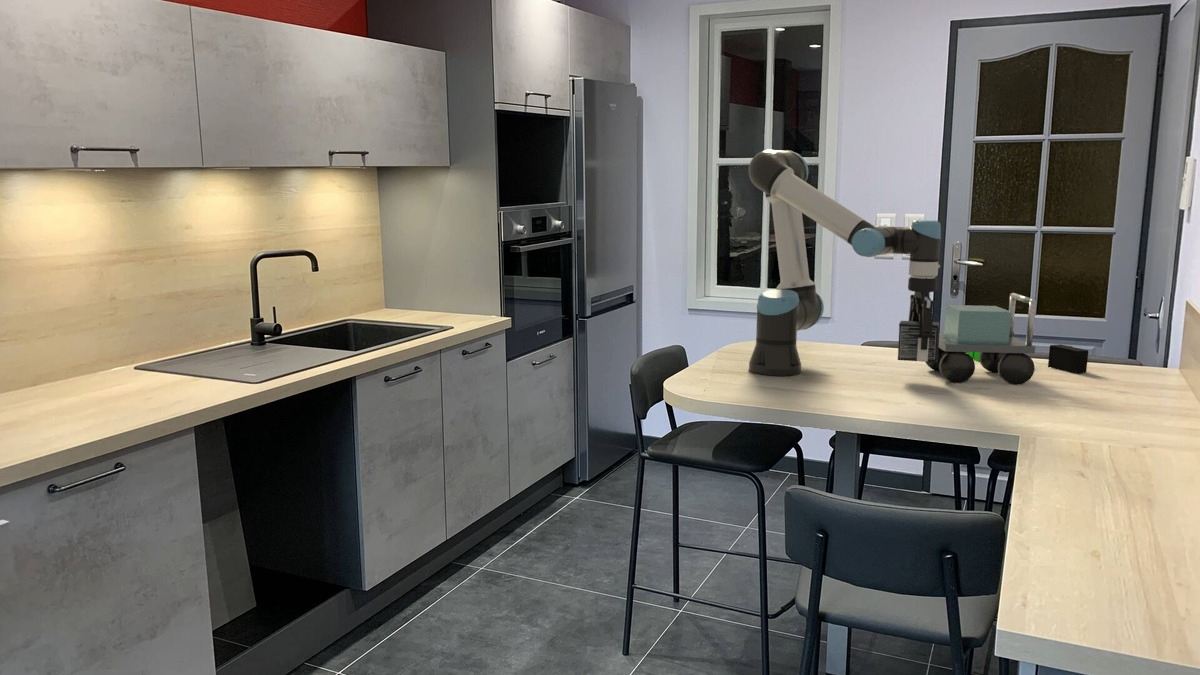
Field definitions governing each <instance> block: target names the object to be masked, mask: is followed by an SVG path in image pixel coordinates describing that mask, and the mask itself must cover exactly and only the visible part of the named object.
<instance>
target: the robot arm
mask: <svg viewBox="0 0 1200 675" xmlns="http://www.w3.org/2000/svg"><path fill="white" fill-rule="evenodd" d="M748 177H749V180H750V181H751V183H752V184H753V185H754V186H755V187H756V188H757V189H758V190H760V191H762V192H763V193H765V199H766V201H768V202H769V203H770V204H771V210H772V220H773V227H774V228H773V229H774V236H775V246H776V254H777V261H778V270H779V278H780V280H779V281H780V283H779V284H778V285H777V286H776V288H775V289H774V290H772V289H769V290H766V291H763V292H761V293H760V294H759V295H758V298H757V304H756V329H755V330H756V333H755V346H754V349H753V351H752V353H751V357H750V358H749V362H748V363H749V364H748V370H749V371H750V372H752V373H754V374H759V375H765V376H778V377H779V376H780V377H781V376H783V377H784V376H794V375H798V374H800V373H802V361H801V359H800V354H799V351H798V348H797V347H798V346H797V338H798V336H797V334H798V332H799V331H801V330H802V331H803V330H808V329H810V328H811V327H814V326H815V325H816V324H818V322H820V320H821V319H822V318H823V314H824V309H825V308H824V306H825V305H824V302H823V301H824V300H823V299H822V297H821V295H819V294H818V292H817V288H816V283H815V282H814V281H813V280H811V278H810V272H809V271H810V270H809V264H808V257H807V256H808V255H807V247H806V238H805V237H806V236H805V228H804V221H803V219H804V218H803V215H805V216H806V217H808V218H809V219H811V220H812V221H814V222H816V223H817V224H819V225H820V226H821V227H823V228H825V229H827V230H828V231H829V232H831V233H832V234H833V235H835V236H837V237H839V238H840V239H841V240H842V241H844V242H846V243H847V244H849V245H850V246H851V247H852V249H853V251H854V252H855V253H856V254H857V255H859V256H860V257H866V258H872V257H877V256H880V255H888V254H893V255H894V254H895V255H909V263H908V264H909V266H908V275H909V276H910V277H908V283H907V290H908V291H910V292H914V293H913V294H911V295H910V304H909V305H910V306H909V313H908V321H919V333H920V335H918V336H917V338H918V348H917V361H916V362H922V361H928V347H929V338H930V337H932V322H933V312H934V311H933V310H934V300H932V299H931V296H930V293H935V292H937V290H938V277H937V276H939V275H938V274H939V269H940V268H941V264H939V261H940V247H941V239H942V236H941V233H942V232H941V230H942V229H941V222H939V221H938V220H932V219H928V220H927V219H924V220H923V219H922V220H921V219H920V220H919V219H917V220H913V221H912V222H911V226H905V227H903V226H889V225H887V226H886V225H876V226H874V225H873V224H871V222H868V221H866V220H865V219H864V218H862V217H861V216H859V215H858V214H856V213H854V212H853V211H851V210H850V209H848V208H847V207H845V206H844V205H842V204H840V203H839V202H838V201H837V200H835V199H833V198H831V197H830V196H828V195H827V194H825V193H824V192H822V191H821V190H818V189H817V188H815V187H814V186H812V185H811V184H809V183H808V182H807V180H808V178H809V166H808V162H807V161H806V160H805V158H804V157H803V156H801V155H800V154H799V153H797V152H794V151H792V150H788V149H786V150H777V149H776V150H775V149H766V150H762V151H760V152H758V153H757V154H755V155H754V156H753V158H751V160H750V162H749V165H748Z"/></svg>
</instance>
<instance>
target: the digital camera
mask: <svg viewBox="0 0 1200 675" xmlns="http://www.w3.org/2000/svg"><path fill="white" fill-rule="evenodd" d="M1088 361H1089V350H1088V349H1083V348H1078V347H1074V346H1072V345H1065V344H1061V343H1060V344H1050V345H1049V353H1048V363H1047V367H1048V368H1050V367H1051V369H1054V370H1058V371H1062V372H1065V373H1070V374H1074V375H1080V374H1087V369H1088Z"/></svg>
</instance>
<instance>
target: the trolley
mask: <svg viewBox="0 0 1200 675" xmlns="http://www.w3.org/2000/svg"><path fill="white" fill-rule="evenodd" d="M1017 301H1020V302H1022V303H1025V304H1028V305H1029V306H1028V315H1027V326H1026V336H1025V340H1022V339H1020V338H1018V337H1015V336H1014V337H1013V332H1014V322H1015V314H1016V313H1015V312H1016V302H1017ZM1036 304H1037V301H1036V299H1034V298H1031V297H1028V296H1024V295H1022V294H1018V293H1015V292H1012V293H1010V294H1009V305H1008V310H1007V309H1005V308H1002V307H999V306H997V305H969V304H968V305H965V304H964V305H962V304H961V305H960V304H959V305H958V304H955V305H954V304H946V306H945V317H944V318H945V319H944V331H943V333H939V350H938V362H925V364H926V366H928V367H929V369H932V370H933V371H935V372H938V373H939V372H940V374H941V376H942V377H943V378H945V380H947V381H948V382H949V383H953V384H962V383H966V382H967V381H968V380H970V379H971V378H972V377H973V375H974V373H975V371H976V363H975V360H973V358H972V357H971V356H970V355H969V354H968V352H980V355H979V360H980V363H979V364H980V365H981V367H982V368H983V369H985V370H987V371H988V372H989V373H992V374H998V376H1000V378H1001V379H1002V380H1003V381H1005V382H1007V383H1008V384H1011V385H1013V386H1014V385H1016V386H1019V385H1023V384H1025V383H1028V382H1029V380H1031V378H1032V377H1033V376H1034V373H1035V369H1036V368H1035V367H1036V366H1035V362H1034V360H1033V359H1032V358H1031V357H1030V356H1029V355H1028V354H1035V353H1036V346H1035V345H1033V339H1034V338H1033V336H1034V328H1035V316H1036Z"/></svg>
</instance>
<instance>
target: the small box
mask: <svg viewBox="0 0 1200 675" xmlns="http://www.w3.org/2000/svg"><path fill="white" fill-rule="evenodd" d="M940 324H941V322H939V321H932V337H930V338H929V347H928V361H921V362H925V363H926V362H938V350H939V334H940V329H941V328H940ZM898 327H899V328H898V330H899V331H898V348H897V361H908V362H918V361H917V348H918V338H917V336H918V335H920V333H919V321H909V320H900V322H899V323H898Z"/></svg>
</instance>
